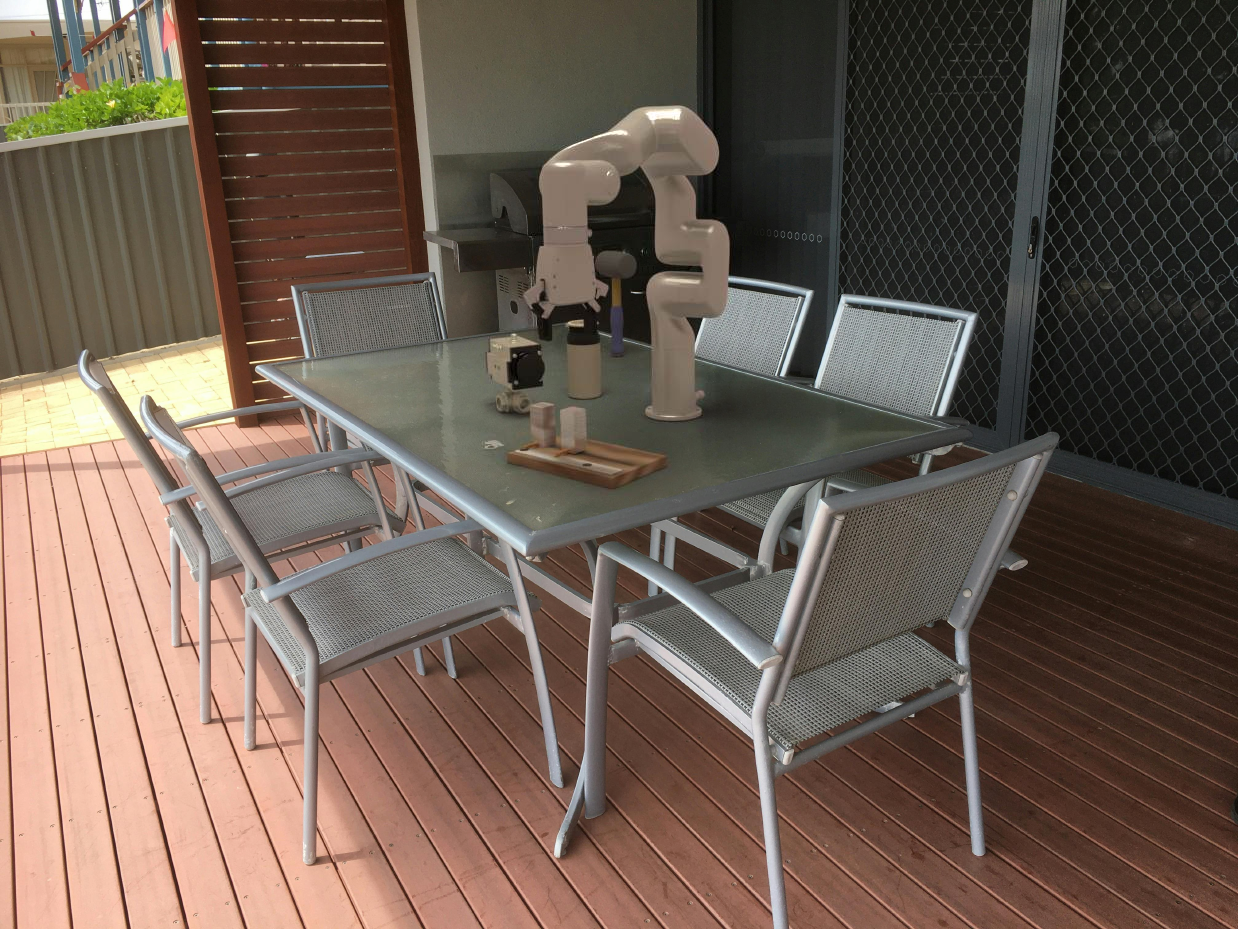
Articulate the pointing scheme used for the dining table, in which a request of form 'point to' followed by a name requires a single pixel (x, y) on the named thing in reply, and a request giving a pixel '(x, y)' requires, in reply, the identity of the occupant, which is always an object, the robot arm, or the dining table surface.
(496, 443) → the mounting bracket
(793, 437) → the dining table surface
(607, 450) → the rule board
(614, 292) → the rubber mallet
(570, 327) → the travel mug
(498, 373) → the ball valve
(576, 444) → the sliding block with pointer
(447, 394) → the dining table surface
